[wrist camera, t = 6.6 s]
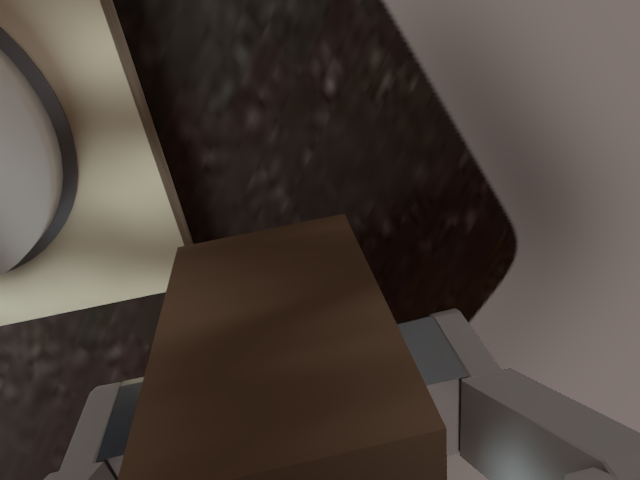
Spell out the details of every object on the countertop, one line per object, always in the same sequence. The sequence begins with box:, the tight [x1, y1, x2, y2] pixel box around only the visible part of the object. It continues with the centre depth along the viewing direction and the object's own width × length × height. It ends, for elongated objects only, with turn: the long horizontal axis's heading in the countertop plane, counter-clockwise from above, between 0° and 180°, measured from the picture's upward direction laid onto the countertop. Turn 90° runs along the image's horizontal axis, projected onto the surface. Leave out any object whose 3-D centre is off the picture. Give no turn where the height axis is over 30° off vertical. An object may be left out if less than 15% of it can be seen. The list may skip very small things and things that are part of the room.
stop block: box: [117, 214, 447, 480], centre depth 8 cm, size 4×4×6 cm
